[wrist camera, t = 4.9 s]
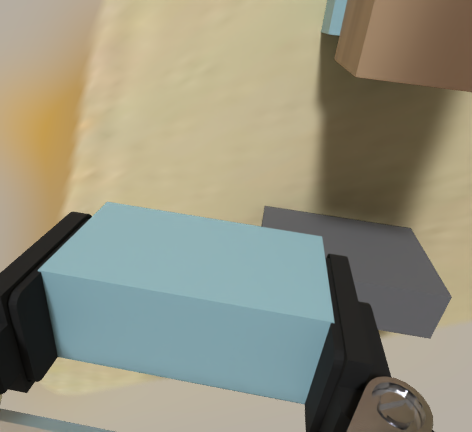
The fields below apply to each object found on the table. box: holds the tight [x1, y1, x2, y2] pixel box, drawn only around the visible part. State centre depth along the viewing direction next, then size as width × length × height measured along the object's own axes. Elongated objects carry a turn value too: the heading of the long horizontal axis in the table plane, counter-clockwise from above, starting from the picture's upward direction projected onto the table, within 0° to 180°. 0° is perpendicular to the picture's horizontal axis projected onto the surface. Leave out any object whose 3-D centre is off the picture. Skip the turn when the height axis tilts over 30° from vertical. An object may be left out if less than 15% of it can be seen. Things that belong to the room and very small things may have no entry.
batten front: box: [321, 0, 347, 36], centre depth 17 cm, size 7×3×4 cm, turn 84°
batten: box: [38, 202, 335, 404], centre depth 11 cm, size 7×3×4 cm, turn 84°
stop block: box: [261, 206, 452, 338], centre depth 22 cm, size 10×3×7 cm, turn 84°
